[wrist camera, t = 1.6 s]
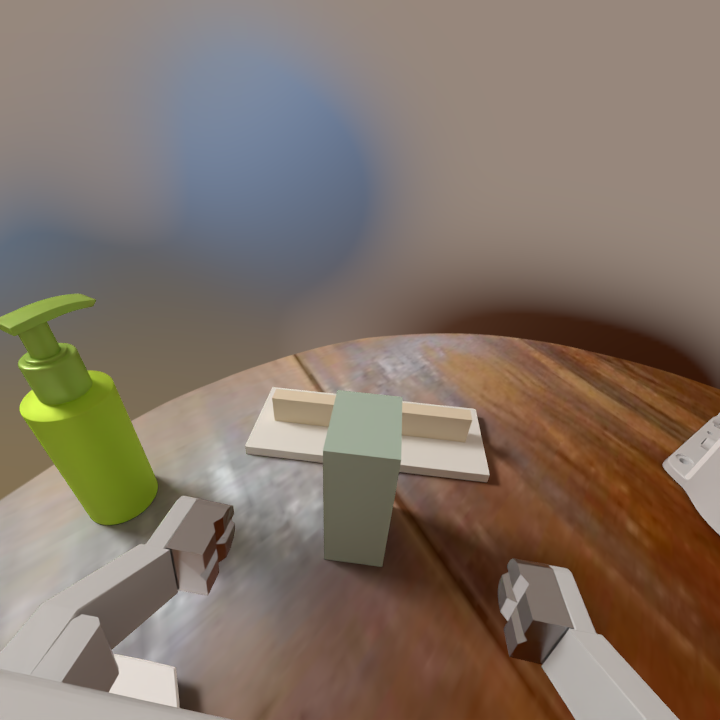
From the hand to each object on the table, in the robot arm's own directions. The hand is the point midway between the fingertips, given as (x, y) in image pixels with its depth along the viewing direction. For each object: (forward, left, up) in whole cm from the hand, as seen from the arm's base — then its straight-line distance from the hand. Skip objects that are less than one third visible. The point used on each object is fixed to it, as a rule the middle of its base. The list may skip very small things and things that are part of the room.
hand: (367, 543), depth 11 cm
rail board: (-19, -16, -22) cm, 33 cm away
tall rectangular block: (-9, -9, -22) cm, 25 cm away
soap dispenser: (+4, -26, -22) cm, 35 cm away
